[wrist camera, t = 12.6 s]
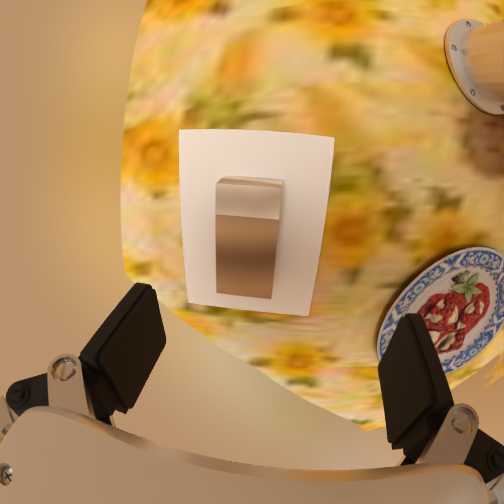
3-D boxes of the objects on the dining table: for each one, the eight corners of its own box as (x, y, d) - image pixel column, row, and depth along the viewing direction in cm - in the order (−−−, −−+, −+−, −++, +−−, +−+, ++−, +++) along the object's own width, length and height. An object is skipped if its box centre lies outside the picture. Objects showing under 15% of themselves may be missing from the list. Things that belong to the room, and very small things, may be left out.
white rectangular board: (333, 137, 26) (334, 137, 25) (308, 313, 36) (308, 315, 35) (181, 129, 27) (179, 129, 27) (189, 299, 37) (188, 302, 37)
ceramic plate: (452, 375, 40) (457, 386, 37) (345, 364, 40) (347, 378, 37) (527, 266, 28) (536, 274, 25) (427, 214, 28) (438, 223, 25)
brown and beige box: (273, 279, 33) (271, 299, 30) (223, 274, 34) (216, 292, 30) (282, 179, 28) (281, 188, 24) (225, 175, 28) (215, 183, 25)
